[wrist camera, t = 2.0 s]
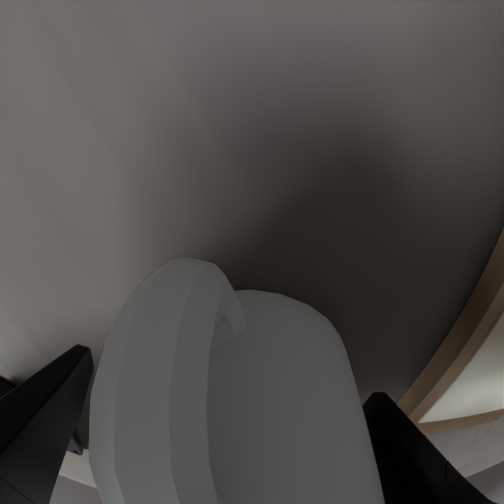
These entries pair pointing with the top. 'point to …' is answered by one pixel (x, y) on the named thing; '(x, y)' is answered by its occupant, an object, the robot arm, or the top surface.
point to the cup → (226, 399)
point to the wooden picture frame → (465, 362)
